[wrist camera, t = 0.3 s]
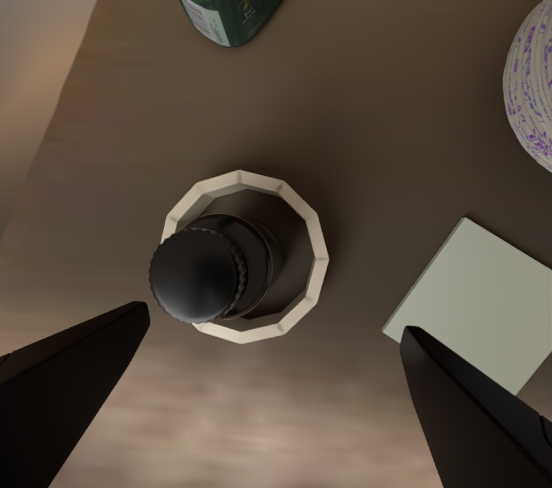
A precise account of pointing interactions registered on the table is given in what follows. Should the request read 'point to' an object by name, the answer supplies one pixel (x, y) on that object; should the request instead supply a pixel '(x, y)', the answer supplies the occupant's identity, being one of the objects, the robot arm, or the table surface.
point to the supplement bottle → (215, 268)
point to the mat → (483, 305)
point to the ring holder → (307, 299)
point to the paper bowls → (531, 84)
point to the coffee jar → (229, 18)
